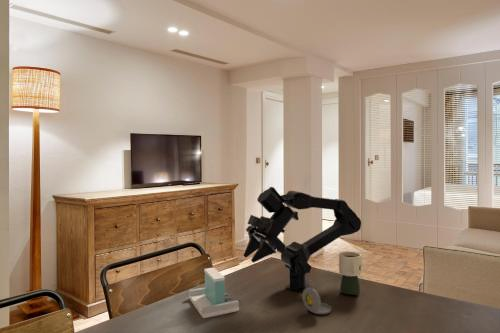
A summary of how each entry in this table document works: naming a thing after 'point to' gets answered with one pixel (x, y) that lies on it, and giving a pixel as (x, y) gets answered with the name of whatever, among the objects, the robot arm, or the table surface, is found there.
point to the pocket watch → (314, 301)
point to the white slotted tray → (207, 307)
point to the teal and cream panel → (214, 286)
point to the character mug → (350, 272)
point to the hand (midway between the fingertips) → (248, 259)
